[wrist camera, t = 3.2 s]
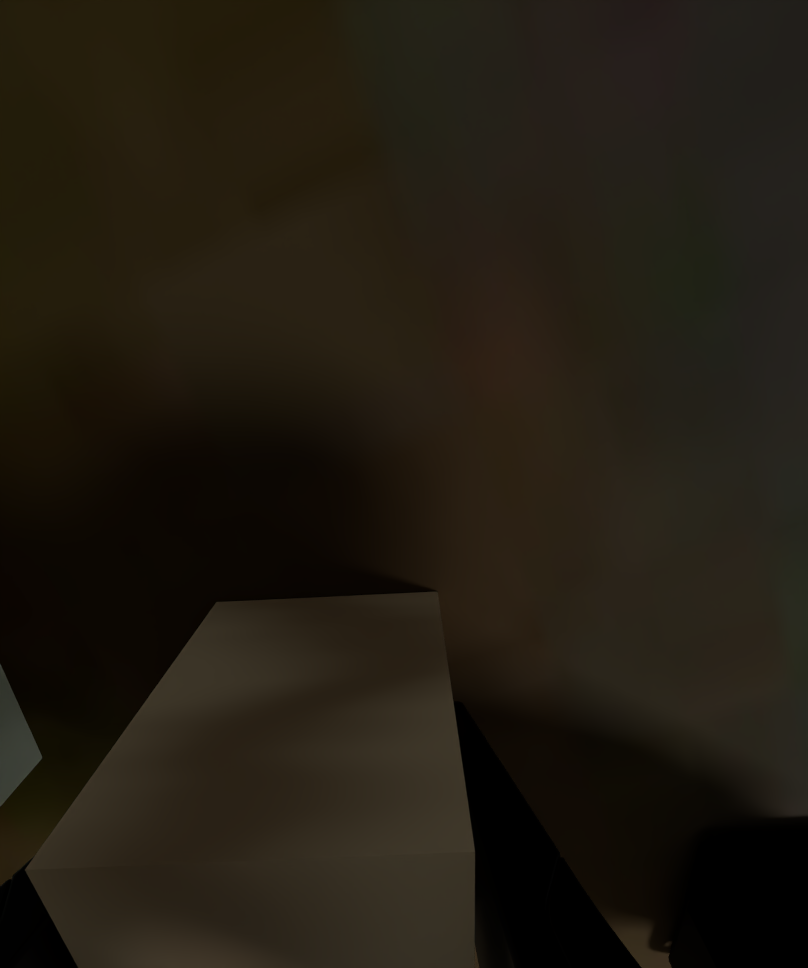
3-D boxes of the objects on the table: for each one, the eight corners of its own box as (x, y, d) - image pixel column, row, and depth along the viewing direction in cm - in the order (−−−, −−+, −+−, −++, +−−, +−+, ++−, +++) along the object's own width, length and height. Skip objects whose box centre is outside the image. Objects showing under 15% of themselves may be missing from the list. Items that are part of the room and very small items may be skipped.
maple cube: (437, 591, 9) (475, 851, 5) (442, 754, 11) (473, 1070, 6) (216, 602, 9) (24, 868, 5) (253, 762, 11) (141, 1083, 6)
